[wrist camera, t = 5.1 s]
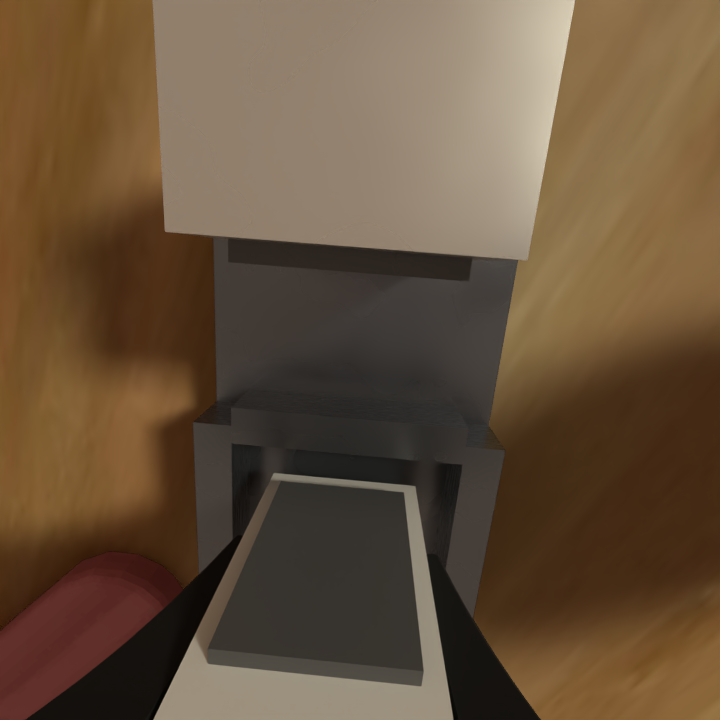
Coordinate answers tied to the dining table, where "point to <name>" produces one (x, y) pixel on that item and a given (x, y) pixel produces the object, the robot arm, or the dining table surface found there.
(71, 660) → the popsicle
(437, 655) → the block
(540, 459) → the dining table surface
